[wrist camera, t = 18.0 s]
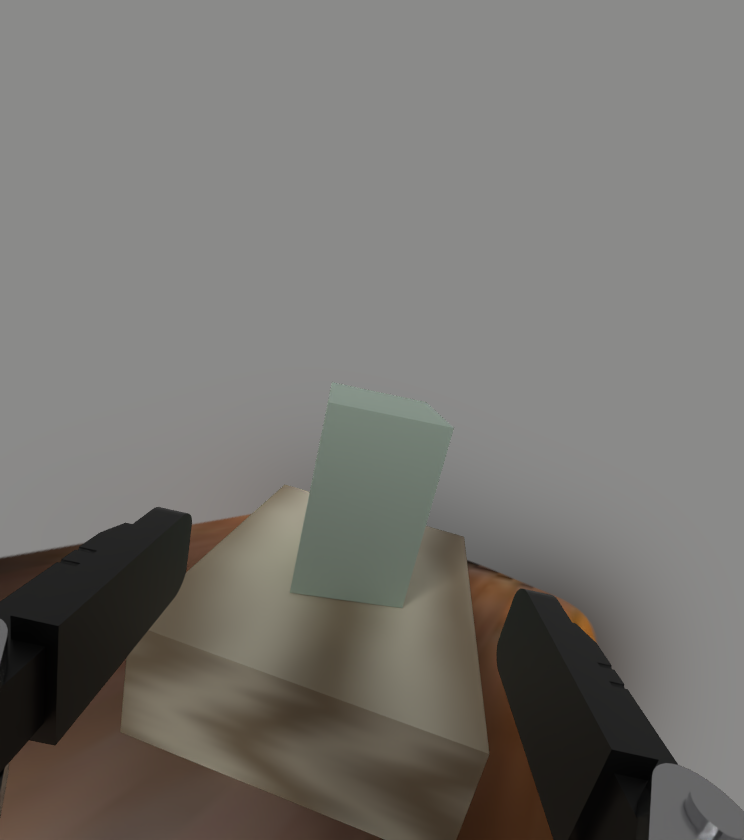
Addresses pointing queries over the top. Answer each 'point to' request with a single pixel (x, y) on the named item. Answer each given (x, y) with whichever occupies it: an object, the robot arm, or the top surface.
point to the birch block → (319, 682)
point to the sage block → (369, 496)
